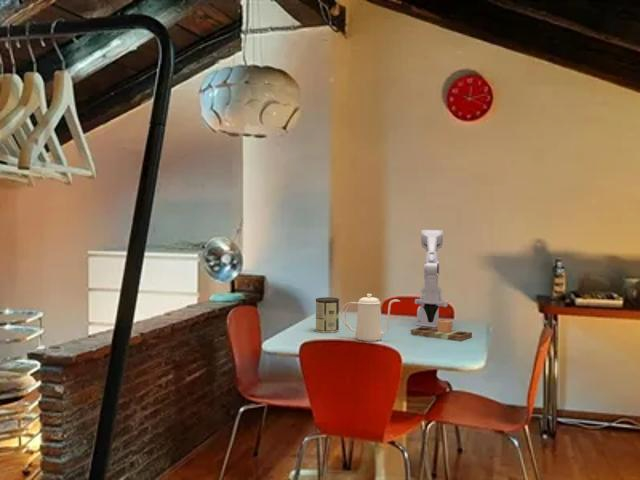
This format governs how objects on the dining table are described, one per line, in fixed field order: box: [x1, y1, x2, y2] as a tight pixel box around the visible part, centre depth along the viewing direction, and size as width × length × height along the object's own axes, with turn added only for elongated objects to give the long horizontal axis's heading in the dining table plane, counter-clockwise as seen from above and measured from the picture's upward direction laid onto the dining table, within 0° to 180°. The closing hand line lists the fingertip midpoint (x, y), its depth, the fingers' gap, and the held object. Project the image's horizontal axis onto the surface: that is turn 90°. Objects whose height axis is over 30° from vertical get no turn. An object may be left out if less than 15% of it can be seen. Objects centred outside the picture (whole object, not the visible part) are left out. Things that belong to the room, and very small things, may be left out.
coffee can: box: [315, 296, 340, 334], centre depth 308 cm, size 10×10×14 cm
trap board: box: [410, 326, 473, 342], centre depth 299 cm, size 23×11×2 cm, turn 55°
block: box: [437, 319, 453, 333], centre depth 298 cm, size 4×4×4 cm
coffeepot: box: [340, 293, 400, 342], centre depth 290 cm, size 11×25×19 cm, turn 71°
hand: (430, 322), depth 302 cm, fingers closed
